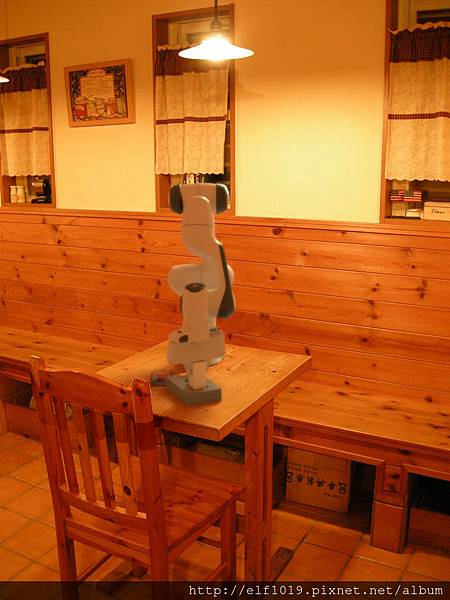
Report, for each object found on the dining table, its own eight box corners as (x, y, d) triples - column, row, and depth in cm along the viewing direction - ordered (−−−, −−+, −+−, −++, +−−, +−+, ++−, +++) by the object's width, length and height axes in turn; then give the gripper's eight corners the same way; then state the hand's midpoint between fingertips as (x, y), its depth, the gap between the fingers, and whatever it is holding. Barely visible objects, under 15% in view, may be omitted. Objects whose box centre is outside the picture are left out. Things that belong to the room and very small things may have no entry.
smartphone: (150, 388, 220) (150, 385, 220) (152, 373, 235) (152, 370, 234) (171, 387, 220) (171, 384, 220) (172, 372, 235) (172, 370, 235)
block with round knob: (188, 385, 209) (188, 356, 207) (200, 383, 211) (200, 354, 209) (194, 389, 205) (193, 360, 203) (206, 387, 207) (205, 358, 205)
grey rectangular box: (165, 387, 219) (165, 374, 218) (196, 381, 224) (196, 369, 223) (188, 406, 201) (188, 392, 200) (221, 399, 207) (221, 386, 206)
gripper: (220, 327, 212) (220, 366, 214) (164, 334, 203) (165, 375, 205) (228, 331, 206) (229, 371, 209) (171, 339, 197) (172, 380, 200)
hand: (197, 373), depth 207 cm, fingers closed on block with round knob, 4 cm apart
